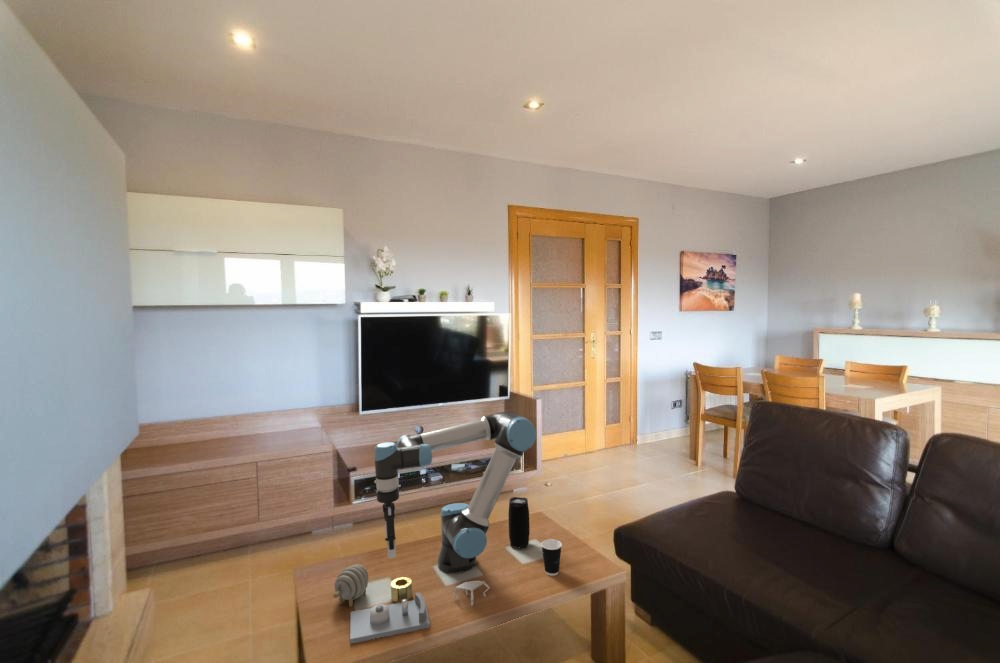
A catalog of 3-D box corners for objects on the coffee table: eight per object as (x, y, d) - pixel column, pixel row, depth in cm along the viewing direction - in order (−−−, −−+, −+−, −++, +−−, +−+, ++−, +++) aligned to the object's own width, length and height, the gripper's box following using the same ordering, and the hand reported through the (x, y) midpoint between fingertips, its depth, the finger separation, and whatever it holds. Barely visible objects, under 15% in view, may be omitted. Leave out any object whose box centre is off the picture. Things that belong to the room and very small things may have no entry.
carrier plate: (424, 602, 167) (423, 587, 167) (429, 627, 153) (429, 611, 153) (350, 616, 160) (350, 600, 160) (350, 643, 147) (349, 626, 146)
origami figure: (464, 610, 162) (463, 596, 162) (452, 598, 169) (451, 584, 169) (494, 598, 169) (493, 584, 168) (481, 587, 176) (481, 573, 175)
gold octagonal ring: (410, 589, 175) (410, 575, 175) (412, 600, 168) (412, 586, 168) (390, 592, 173) (390, 579, 173) (392, 604, 166) (391, 589, 166)
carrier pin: (407, 611, 159) (407, 598, 159) (408, 615, 157) (408, 601, 157) (401, 613, 159) (401, 599, 159) (402, 616, 157) (401, 603, 157)
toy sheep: (377, 588, 176) (376, 558, 176) (351, 616, 160) (350, 583, 159) (351, 584, 179) (350, 555, 178) (323, 612, 163) (322, 579, 162)
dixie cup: (562, 578, 180) (562, 549, 179) (541, 577, 181) (540, 548, 180) (562, 567, 188) (561, 539, 187) (541, 566, 189) (541, 538, 188)
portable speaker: (531, 541, 209) (530, 496, 209) (526, 551, 200) (525, 505, 200) (512, 539, 212) (511, 494, 211) (506, 549, 203) (505, 503, 202)
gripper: (375, 478, 179) (378, 534, 180) (377, 503, 155) (381, 568, 156) (396, 475, 181) (399, 531, 182) (401, 500, 157) (404, 564, 158)
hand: (390, 548), depth 169 cm, fingers open, 13 cm apart
